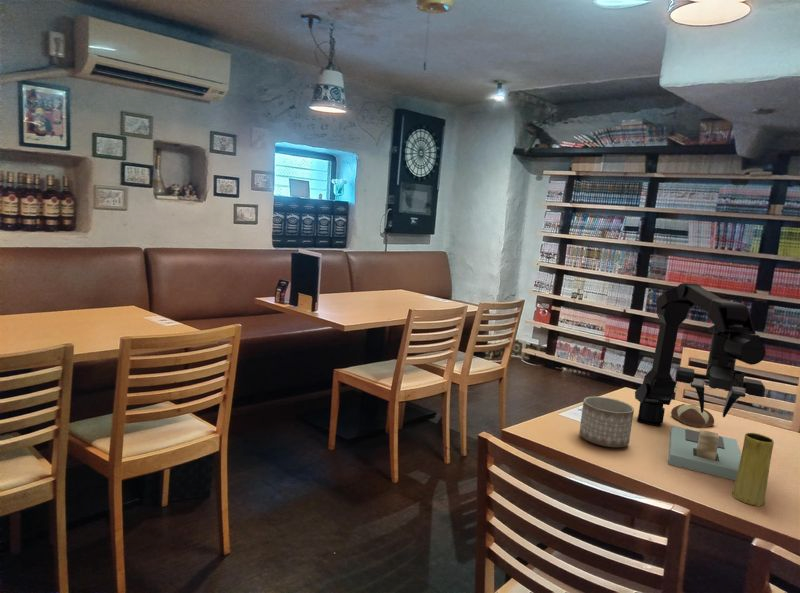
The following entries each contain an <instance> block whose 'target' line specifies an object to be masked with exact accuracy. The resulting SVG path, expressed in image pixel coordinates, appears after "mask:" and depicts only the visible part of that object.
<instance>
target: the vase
mask: <svg viewBox="0 0 800 593" xmlns="http://www.w3.org/2000/svg"><path fill="white" fill-rule="evenodd" d="M773 449H774V440H773V438H771V437H769V436H766V435H764V434H761V433H755V432H746V433H745V434H744V440H743V445H742V450H741V460H740V464H739V469H738V473H737V476H736V481H735V480H734V481H735V482H734V486H733V490H732V492H731V493H732V496H733V497H734V498H735V499H736V500H738V501H740V502H742V503H744V504H747V505H751V506H757V507H759V506H763V505H766V504H765V503H766V494H767V488H768V481H769V480H768V479H769V474H770V473H769V472H770V468H771V467H770V465H771V459H772V456H773V455H772V454H773Z"/></svg>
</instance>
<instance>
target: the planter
mask: <svg viewBox="0 0 800 593" xmlns="http://www.w3.org/2000/svg"><path fill="white" fill-rule="evenodd" d="M634 412H635V408H634V406H632V405H631V404H630V403H628V402H625V401H622V400H620V399H616V398H611V397H605V396H595V395H594V396H587V397H585V398H584V399H583V402H582V410H581V418H580V424H579V426H580V427H579V430H578V431H579V435H580V436H581V437H582V439H584V440H585V441H587V442H590V443H593V444H595V445H599V446H602V447H607V448H624V447H626V446H628V445H630V441H631V440H630V439H631V431H632V427H633V426H632V425H633V419H634Z"/></svg>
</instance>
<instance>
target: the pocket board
mask: <svg viewBox="0 0 800 593" xmlns="http://www.w3.org/2000/svg"><path fill="white" fill-rule="evenodd" d="M699 433H700V430H696V429H695V430H694V429H691V428H685V427H681V426H676V425H673V424H671V428H670V433H669V450H668V451H669V452H668V465H671V466H672V465H673V466H676V467H680V468H683V469H688V470H691V471H696V472H700V473H703V474H708V475H710V476H711V475H712V476H715V477H719V478H724V479H727V480H728V479H729V480H732V481H736V476H737V473H738V469H739V464H740V460H741V455H742V453H741V451H740V448H739V447H740V446H739V444H738V440H737V439H736V438H731V437H728V436H722V435H719V442H718V448H717V453H716V459H715V461H714V460H710V459H706V458H702V457H698V456H696V451H697V445H698V439H699Z"/></svg>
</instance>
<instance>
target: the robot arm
mask: <svg viewBox="0 0 800 593" xmlns="http://www.w3.org/2000/svg"><path fill="white" fill-rule="evenodd" d="M655 303H656V311H655V312H656V315H657V318H658V320H659V322H660V325H659V330H658V334H657V341H656V345H655V351H654V356H653V360H652V361H653V362H652V366H651V369H650V370H649V371H648V373H646V374H645V376H643V377H644V378H643V382H642V384H640V386H639V387H638V388H637V389H636V390H635V391H634V399H635V400H636V401H638V402H639V408H638V414H637V418H636V421H637V422H638V423H644V424H647V425H652V426H656V427H661V425H662V424H663V423H664V417H665V410H666V409H665V407H664V405H667V406H670V404H671V402H672V400H673V397H674V395H675V389H676V385H677V383H676V382H679V383H682V384H683V383H684V384H687V385H688V384H689V385H690V387H691V388H693V389H695V390H696V391H695V392H696V394H697V396H698V403H699V408H701V413H703V410H705V383H706V384H708V387H709V388H710V389H714V390H716V389H718V390H723V391H725V392H727V396H726V399H725V402H724V407H723V409H722V418H725V417H726V416H727V414H728V413H729V411H730V410H731V407H733V405H734V404H735V402H736V401H737V400H738V399H740V398H745V397H746V394H747V395H748V396H754V397H759V398H764V397H765V392H766V386H765V384H764V383H763V382H762V380H758V379H753V378H747V377H745V371H740V370H736V369H735V368H736V363H737V361H740V362H742V363H745V364H747V365H749V366H750V365H751V366H752V365H753V366H754V365H757V364H759V363H761V362H762V361H763V360H764V358H765V357H766V353H767V351H766V350H767V349H766V347H765V345H764V344H763V342H761V340H760V335H759V334H756V330H755V328H756V327H755V325H754V323H753V320H752V317H751V312H750V310H749V307H748V306H747V305H746V304H744V303H741V302H738V301H732V300H726V299H723V298H721V297H720V296H718V295H716V294H714V293H712V292H710V291H709V290H707V289H705V287H702V286H701V285H700V284H698V283H692V282H691V283H689V282H683V283H679V284H678V285H677V286H676V287H673V288H671V289H668V290H666V291H664V292H663V293H662V294H660V295H658V297H657V298H656V302H655ZM695 306H697V307H698V308H700V309H701V310H703V311H704V312H706V313H707V318H708V319H709V320H710V321H711V323H713V324H714V325H712V326H710V327H708V332H711V333H712V336H711V340H710V341H711V342H710V347H709V355H708V360H707V366H706V373H705V374H702V373H697V372H695V369H694V368H689V367H684V366H679V367H677V368H676V371H675V372H676V373H675V379H673V377H672V375H671V369H672V366H673V360H674V353H675V349H676V344H677V337H678V333H679V328H680V325H681V324H682V323H683V322H684V321H685V320H686V319H687V318H688V317H689V316H688V315H689V311H690V310H691V309H692V308H694V307H695Z"/></svg>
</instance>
